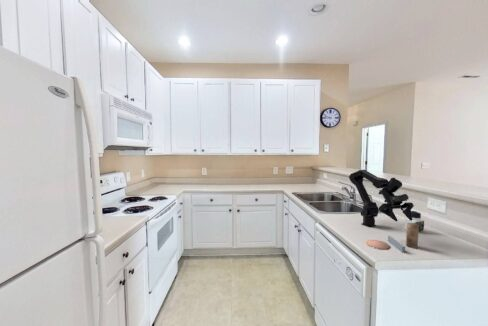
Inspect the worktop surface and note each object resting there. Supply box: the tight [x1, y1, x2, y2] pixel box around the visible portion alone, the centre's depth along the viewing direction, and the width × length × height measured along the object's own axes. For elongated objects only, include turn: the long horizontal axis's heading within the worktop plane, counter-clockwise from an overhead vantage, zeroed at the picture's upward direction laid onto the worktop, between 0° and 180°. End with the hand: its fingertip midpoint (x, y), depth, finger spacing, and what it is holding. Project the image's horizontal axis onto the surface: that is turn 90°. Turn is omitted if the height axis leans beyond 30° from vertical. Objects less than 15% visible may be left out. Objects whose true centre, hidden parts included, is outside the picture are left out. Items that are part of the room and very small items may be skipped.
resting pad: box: [365, 239, 390, 250], centre depth 124 cm, size 11×11×1 cm
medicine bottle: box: [404, 210, 425, 233], centre depth 146 cm, size 7×7×12 cm
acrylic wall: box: [387, 235, 406, 253], centre depth 122 cm, size 14×1×3 cm, turn 174°
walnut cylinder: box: [405, 223, 420, 249], centre depth 122 cm, size 5×5×12 cm
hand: (404, 220), depth 127 cm, fingers open, 9 cm apart
